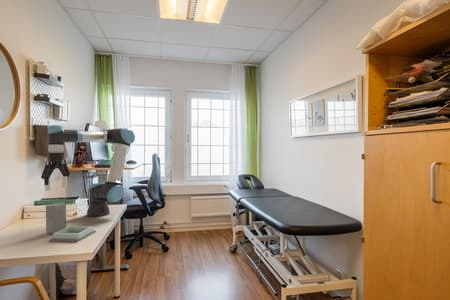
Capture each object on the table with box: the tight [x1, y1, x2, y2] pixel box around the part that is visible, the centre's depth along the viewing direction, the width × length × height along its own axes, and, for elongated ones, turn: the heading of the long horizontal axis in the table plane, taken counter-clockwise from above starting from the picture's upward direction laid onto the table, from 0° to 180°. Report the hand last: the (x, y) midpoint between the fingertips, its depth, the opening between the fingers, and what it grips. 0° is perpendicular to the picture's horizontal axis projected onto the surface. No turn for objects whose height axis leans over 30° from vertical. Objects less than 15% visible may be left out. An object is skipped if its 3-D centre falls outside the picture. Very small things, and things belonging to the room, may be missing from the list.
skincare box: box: [45, 203, 67, 235], centre depth 149 cm, size 8×7×16 cm
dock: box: [49, 225, 96, 243], centre depth 140 cm, size 16×15×4 cm
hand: (56, 189), depth 149 cm, fingers open, 13 cm apart
